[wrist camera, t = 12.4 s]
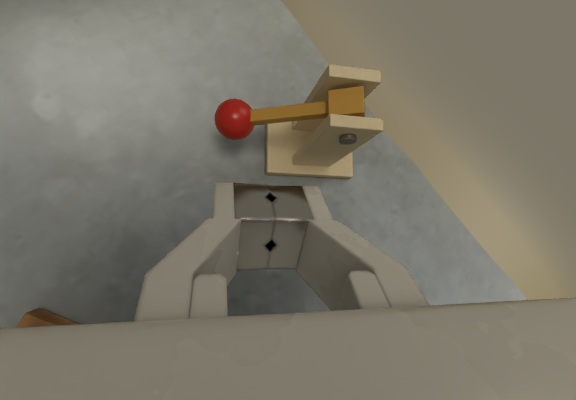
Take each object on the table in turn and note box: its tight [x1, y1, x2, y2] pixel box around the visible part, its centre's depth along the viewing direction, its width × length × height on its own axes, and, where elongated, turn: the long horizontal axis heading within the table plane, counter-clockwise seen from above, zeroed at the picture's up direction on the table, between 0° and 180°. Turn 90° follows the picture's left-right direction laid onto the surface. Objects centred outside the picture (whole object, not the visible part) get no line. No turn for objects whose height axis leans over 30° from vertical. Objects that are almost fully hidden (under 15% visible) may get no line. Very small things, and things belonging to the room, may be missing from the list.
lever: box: [215, 86, 365, 140], centre depth 27 cm, size 13×4×4 cm, turn 90°
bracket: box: [265, 64, 383, 179], centre depth 30 cm, size 10×7×13 cm
